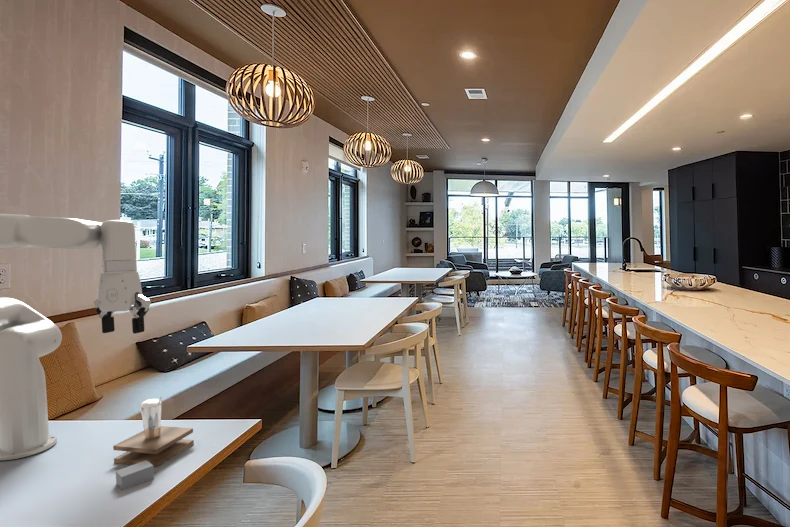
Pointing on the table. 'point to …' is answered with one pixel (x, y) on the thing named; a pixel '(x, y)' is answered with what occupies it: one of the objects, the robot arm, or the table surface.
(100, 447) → the table surface
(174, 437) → the stand
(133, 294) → the robot arm
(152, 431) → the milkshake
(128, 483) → the block
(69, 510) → the table surface
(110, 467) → the table surface
